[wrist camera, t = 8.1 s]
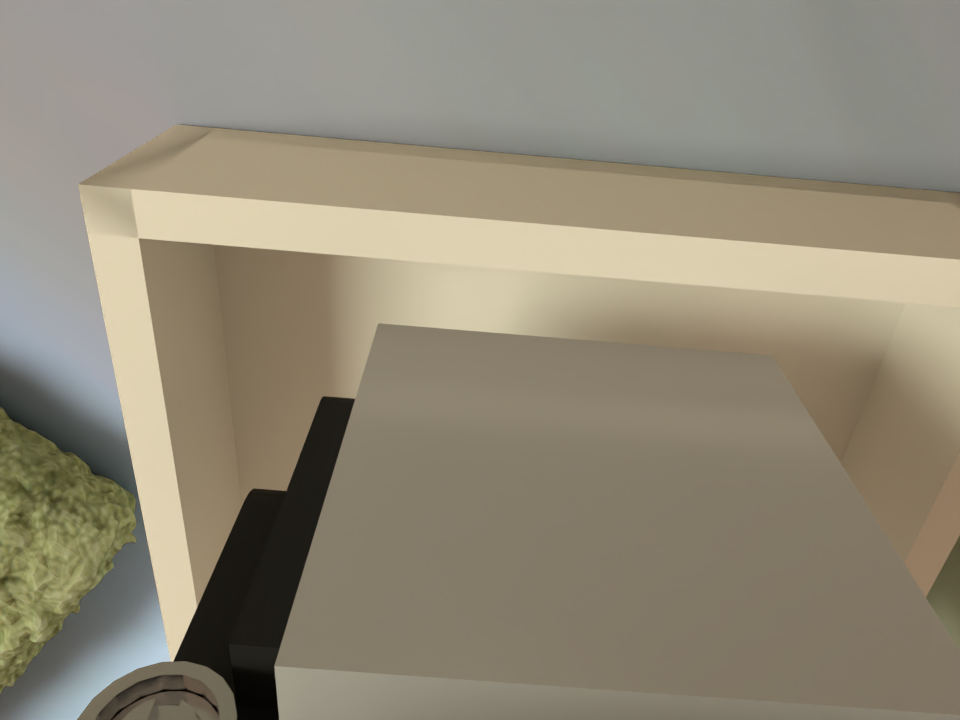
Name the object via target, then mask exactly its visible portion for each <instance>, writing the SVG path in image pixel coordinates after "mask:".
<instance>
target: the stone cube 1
mask: <svg viewBox="0 0 960 720" xmlns="http://www.w3.org/2000/svg"><path fill="white" fill-rule="evenodd" d="M274 668H275V679H276V690H277V701H278V712H279V720H960V651H959V649H958V647H957V646H956V644H955V643H954V641H953V640H952V638H951V636H950V635H949V633H948V632H947V630H946V629H945V627H944V625H943V624H942V622H941V621H940V619H939V617H938V616H937V614H936V613H935V611H934V610H933V608H932V606H931V605H930V603H929V602H928V600H927V599H926V597H925V595H924V594H923V592H922V591H921V589H920V588H919V586H918V584H917V583H916V581H915V580H914V578H913V576H912V575H911V573H910V572H909V570H908V569H907V567H906V565H905V564H904V562H903V561H902V559H901V558H900V556H899V554H898V553H897V551H896V550H895V548H894V547H893V545H892V543H891V542H890V540H889V539H888V537H887V535H886V534H885V532H884V531H883V529H882V528H881V526H880V524H879V523H878V521H877V520H876V518H875V517H874V515H873V513H872V512H871V510H870V509H869V507H868V506H867V504H866V502H865V501H864V499H863V498H862V496H861V494H860V493H859V491H858V490H857V488H856V487H855V485H854V483H853V482H852V480H851V479H850V477H849V476H848V474H847V472H846V471H845V469H844V468H843V466H842V465H841V463H840V461H839V460H838V458H837V457H836V455H835V453H834V452H833V450H832V449H831V447H830V446H829V444H828V442H827V441H826V439H825V438H824V436H823V435H822V433H821V431H820V430H819V428H818V427H817V425H816V424H815V422H814V420H813V419H812V417H811V416H810V414H809V412H808V411H807V409H806V408H805V406H804V405H803V403H802V401H801V400H800V398H799V397H798V395H797V394H796V392H795V390H794V389H793V387H792V386H791V384H790V383H789V381H788V379H787V378H786V376H785V375H784V373H783V371H782V370H781V368H780V367H779V365H778V364H777V362H776V360H775V359H774V357H773V356H772V355H761V354H749V353H737V352H725V351H712V350H700V349H688V348H676V347H663V346H651V345H639V344H627V343H614V342H602V341H590V340H578V339H565V338H553V337H541V336H529V335H516V334H504V333H492V332H480V331H467V330H455V329H443V328H431V327H418V326H406V325H394V324H382V323H378V326H377V329H376V332H375V336H374V339H373V342H372V345H371V349H370V352H369V355H368V359H367V362H366V365H365V369H364V372H363V375H362V378H361V382H360V385H359V388H358V392H357V395H356V398H355V402H354V405H353V408H352V411H351V415H350V418H349V421H348V425H347V428H346V431H345V435H344V438H343V441H342V444H341V448H340V451H339V454H338V458H337V461H336V464H335V468H334V471H333V474H332V477H331V481H330V484H329V487H328V491H327V494H326V497H325V501H324V504H323V507H322V511H321V514H320V517H319V520H318V524H317V527H316V530H315V534H314V537H313V540H312V544H311V547H310V550H309V553H308V557H307V560H306V563H305V567H304V570H303V573H302V577H301V580H300V583H299V586H298V590H297V593H296V596H295V600H294V603H293V606H292V610H291V613H290V616H289V619H288V623H287V626H286V629H285V633H284V636H283V639H282V643H281V646H280V649H279V652H278V656H277V659H276V662H275V666H274Z"/></svg>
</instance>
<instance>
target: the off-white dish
mask: <svg viewBox="0 0 960 720" xmlns="http://www.w3.org/2000/svg"><path fill="white" fill-rule="evenodd" d="M78 187H79V192H80V197H81V202H82V207H83V213H84V218H85V223H86V228H87V233H88V238H89V243H90V249H91V254H92V259H93V264H94V269H95V274H96V279H97V285H98V290H99V295H100V300H101V305H102V310H103V315H104V320H105V326H106V331H107V336H108V341H109V346H110V351H111V356H112V362H113V367H114V372H115V377H116V382H117V387H118V392H119V397H120V403H121V408H122V413H123V418H124V423H125V428H126V433H127V439H128V444H129V449H130V454H131V459H132V464H133V469H134V474H135V480H136V485H137V490H138V495H139V500H140V505H141V510H142V516H143V521H144V526H145V531H146V536H147V541H148V546H149V552H150V557H151V562H152V567H153V572H154V577H155V582H156V587H157V593H158V598H159V603H160V608H161V613H162V618H163V623H164V629H165V634H166V639H167V644H168V649H169V654H170V659H171V662H173V661H174V659H175V656H176V654H177V652H178V650H179V647H180V645H181V643H182V641H183V638H184V636H185V634H186V632H187V629H188V627H189V625H190V623H191V620H192V618H193V616H194V614H195V611H196V609H197V607H198V604H199V602H200V600H201V598H202V595H203V593H204V591H205V589H206V586H207V584H208V582H209V580H210V577H211V575H212V573H213V571H214V568H215V566H216V564H217V561H218V559H219V557H220V555H221V552H222V550H223V548H224V546H225V543H226V541H227V539H228V537H229V534H230V532H231V530H232V528H233V525H234V523H235V521H236V519H237V516H238V514H239V512H240V509H241V507H242V505H243V503H244V500H245V499H246V497H247V495H248V493H249V492H250V491H251V490H252V489H254V488H255V489H268V490H281V491H287V488H288V485H289V483H290V480H291V477H292V475H293V472H294V469H295V467H296V464H297V461H298V459H299V456H300V453H301V451H302V448H303V445H304V443H305V440H306V437H307V435H308V432H309V429H310V427H311V424H312V421H313V419H314V416H315V413H316V411H317V408H318V405H319V403H320V400H321V398H322V397H323V396H328V397H341V398H354V399H355V398H356V395H357V392H358V388H359V385H360V382H361V378H362V375H363V372H364V369H365V365H366V362H367V359H368V355H369V352H370V349H371V345H372V342H373V339H374V336H375V332H376V329H377V326H378V323H382V324H394V325H406V326H418V327H431V328H443V329H455V330H467V331H480V332H492V333H504V334H516V335H529V336H541V337H553V338H565V339H578V340H590V341H602V342H614V343H627V344H639V345H651V346H663V347H676V348H688V349H700V350H712V351H725V352H737V353H749V354H761V355H772V356H773V357H774V359H775V360H776V362H777V364H778V365H779V367H780V368H781V370H782V371H783V373H784V375H785V376H786V378H787V379H788V381H789V383H790V384H791V386H792V387H793V389H794V390H795V392H796V394H797V395H798V397H799V398H800V400H801V401H802V403H803V405H804V406H805V408H806V409H807V411H808V412H809V414H810V416H811V417H812V419H813V420H814V422H815V424H816V425H817V427H818V428H819V430H820V431H821V433H822V435H823V436H824V438H825V439H826V441H827V442H828V444H829V446H830V447H831V449H832V450H833V452H834V453H835V455H836V457H837V458H838V460H839V461H840V463H841V465H842V466H843V468H844V469H845V471H846V472H847V474H848V476H849V477H850V479H851V480H852V482H853V483H854V485H855V487H856V488H857V490H858V491H859V493H860V494H861V496H862V498H863V499H864V501H865V502H866V504H867V506H868V507H869V509H870V510H871V512H872V513H873V515H874V517H875V518H876V520H877V521H878V523H879V524H880V526H881V528H882V529H883V531H884V532H885V534H886V535H887V537H888V539H889V540H890V542H891V543H892V545H893V547H894V548H895V550H896V551H897V553H898V554H899V556H900V558H901V559H902V561H903V562H904V564H905V565H906V567H907V569H908V570H909V572H910V573H911V575H912V576H913V578H914V580H915V581H916V583H917V584H918V586H919V588H920V589H921V591H922V592H923V594H924V595H925V597H926V596H927V594H928V593H929V591H930V589H931V587H932V585H933V583H934V582H935V580H936V578H937V576H938V574H939V572H940V571H941V569H942V567H943V565H944V563H945V561H946V559H947V558H948V556H949V554H950V552H951V550H952V548H953V547H954V545H955V543H956V541H957V539H958V537H959V536H960V193H954V192H943V191H931V190H920V189H909V188H897V187H886V186H874V185H863V184H851V183H840V182H828V181H817V180H805V179H794V178H783V177H771V176H760V175H748V174H737V173H725V172H714V171H702V170H691V169H679V168H668V167H657V166H645V165H634V164H622V163H611V162H599V161H588V160H576V159H565V158H554V157H542V156H531V155H519V154H508V153H496V152H485V151H473V150H462V149H450V148H439V147H428V146H416V145H405V144H393V143H382V142H370V141H359V140H347V139H336V138H324V137H313V136H302V135H290V134H279V133H267V132H256V131H244V130H233V129H221V128H210V127H198V126H187V125H175V126H173V127H172V128H170V129H168V130H167V131H165V132H163V133H162V134H160V135H158V136H157V137H155V138H153V139H152V140H150V141H149V142H147V143H145V144H144V145H142V146H140V147H139V148H137V149H135V150H134V151H132V152H130V153H129V154H127V155H126V156H124V157H122V158H121V159H119V160H117V161H116V162H114V163H112V164H111V165H109V166H107V167H106V168H104V169H103V170H101V171H99V172H98V173H96V174H94V175H93V176H91V177H89V178H88V179H86V180H84V181H83V182H81V183H80V184H78Z"/></svg>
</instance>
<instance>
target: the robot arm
mask: <svg viewBox="0 0 960 720" xmlns="http://www.w3.org/2000/svg"><path fill="white" fill-rule="evenodd" d="M354 402H355V399H354V398H341V397H328V396H323V397H322V398H321V400H320V403H319V405H318V408H317V411H316V413H315V416H314V419H313V421H312V424H311V427H310V429H309V432H308V435H307V437H306V440H305V443H304V445H303V448H302V451H301V453H300V456H299V459H298V461H297V464H296V467H295V469H294V472H293V475H292V477H291V480H290V483H289V485H288V488H287V491H281V490H268V489H255V488H254V489H252V490H251V491H250V492H249V493H248V495H247V497H246V499H245V500H244V503H243V505H242V507H241V509H240V512H239V514H238V516H237V519H236V521H235V523H234V525H233V528H232V530H231V532H230V534H229V537H228V539H227V541H226V543H225V546H224V548H223V550H222V552H221V555H220V557H219V559H218V561H217V564H216V566H215V568H214V571H213V573H212V575H211V577H210V580H209V582H208V584H207V586H206V589H205V591H204V593H203V595H202V598H201V600H200V602H199V604H198V607H197V609H196V611H195V614H194V616H193V618H192V620H191V623H190V625H189V627H188V629H187V632H186V634H185V636H184V638H183V641H182V643H181V645H180V647H179V650H178V652H177V654H176V656H175V659H174V661H173V662H161V663H157V664H153V665H150V666H146V667H142V668H139V669H136V670H134V671H132V672H131V673H129V674H127V675H125V676H123V677H121V678H119V679H117V680H115V681H114V682H112V683H111V684H110V685H109V686H108V687H106V688H105V689H104V690H103V691H102V692H100V693H99V694H98V695H97V696H96V697H94V698H93V699H92V701H91V702H90V703H89V705H88V706H87V707H86V709H85V710H84V711H83V713H82V714H81V715H80V716H79V718H78V719H77V720H279V712H278V701H277V690H276V679H275V668H274V666H275V662H276V659H277V656H278V652H279V649H280V646H281V643H282V639H283V636H284V633H285V629H286V626H287V623H288V619H289V616H290V613H291V610H292V606H293V603H294V600H295V596H296V593H297V590H298V586H299V583H300V580H301V577H302V573H303V570H304V567H305V563H306V560H307V557H308V553H309V550H310V547H311V544H312V540H313V537H314V534H315V530H316V527H317V524H318V520H319V517H320V514H321V511H322V507H323V504H324V501H325V497H326V494H327V491H328V487H329V484H330V481H331V477H332V474H333V471H334V468H335V464H336V461H337V458H338V454H339V451H340V448H341V444H342V441H343V438H344V435H345V431H346V428H347V425H348V421H349V418H350V415H351V411H352V408H353V405H354Z"/></svg>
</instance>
